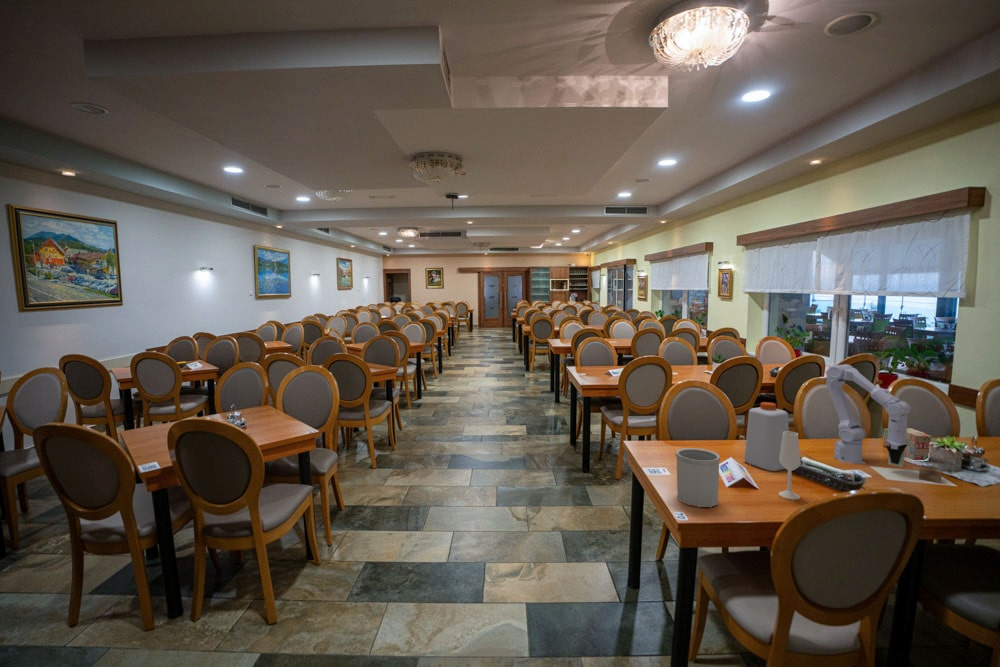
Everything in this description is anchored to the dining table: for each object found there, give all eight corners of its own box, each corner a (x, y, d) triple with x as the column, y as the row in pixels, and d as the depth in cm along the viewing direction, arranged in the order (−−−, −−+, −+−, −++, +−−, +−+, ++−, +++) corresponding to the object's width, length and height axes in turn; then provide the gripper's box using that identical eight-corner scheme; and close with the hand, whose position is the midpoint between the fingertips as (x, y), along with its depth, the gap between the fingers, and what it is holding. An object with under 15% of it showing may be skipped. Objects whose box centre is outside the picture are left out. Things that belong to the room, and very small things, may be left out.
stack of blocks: (882, 446, 215) (883, 422, 214) (897, 447, 213) (898, 422, 213) (914, 461, 194) (915, 435, 193) (930, 462, 192) (931, 435, 192)
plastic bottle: (771, 473, 183) (772, 408, 181) (740, 461, 197) (741, 401, 195) (795, 467, 189) (796, 405, 187) (762, 457, 203) (764, 398, 201)
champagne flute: (804, 497, 160) (805, 434, 158) (790, 500, 158) (792, 436, 156) (787, 490, 166) (789, 429, 165) (774, 493, 164) (775, 431, 163)
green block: (887, 464, 181) (888, 452, 180) (889, 461, 184) (889, 450, 183) (902, 467, 177) (903, 455, 177) (904, 464, 180) (904, 452, 180)
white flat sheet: (887, 480, 174) (887, 479, 173) (869, 467, 188) (869, 466, 188) (957, 487, 166) (957, 485, 166) (933, 473, 180) (933, 471, 180)
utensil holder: (670, 490, 168) (670, 446, 167) (710, 491, 166) (710, 447, 165) (682, 508, 153) (683, 460, 152) (726, 509, 152) (727, 461, 151)
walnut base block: (919, 479, 173) (919, 468, 173) (920, 475, 177) (921, 464, 177) (940, 483, 169) (940, 472, 168) (941, 479, 173) (941, 468, 172)
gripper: (908, 436, 172) (906, 469, 173) (912, 428, 181) (910, 460, 182) (884, 432, 177) (883, 464, 178) (890, 425, 187) (888, 455, 187)
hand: (895, 461), depth 180 cm, fingers closed on green block, 5 cm apart
